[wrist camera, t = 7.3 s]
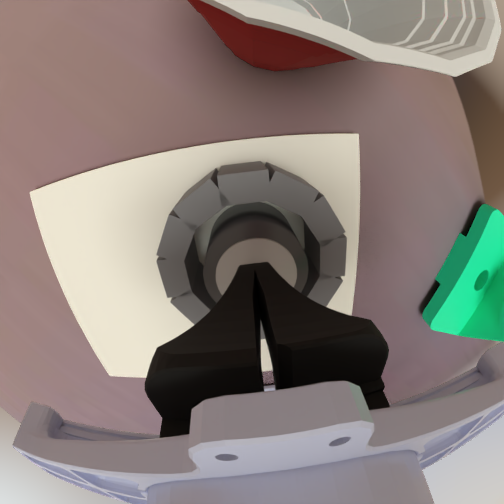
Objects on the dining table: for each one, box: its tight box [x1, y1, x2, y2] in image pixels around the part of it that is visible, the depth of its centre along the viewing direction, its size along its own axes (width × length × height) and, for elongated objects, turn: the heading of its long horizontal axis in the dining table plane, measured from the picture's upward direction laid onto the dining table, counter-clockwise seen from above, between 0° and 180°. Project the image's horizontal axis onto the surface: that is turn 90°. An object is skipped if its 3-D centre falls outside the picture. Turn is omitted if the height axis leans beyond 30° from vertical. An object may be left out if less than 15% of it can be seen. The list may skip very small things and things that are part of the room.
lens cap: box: [203, 202, 308, 303], centre depth 15 cm, size 5×5×4 cm
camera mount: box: [422, 204, 504, 342], centre depth 15 cm, size 12×8×10 cm, turn 159°
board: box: [30, 133, 360, 377], centre depth 16 cm, size 18×22×4 cm
